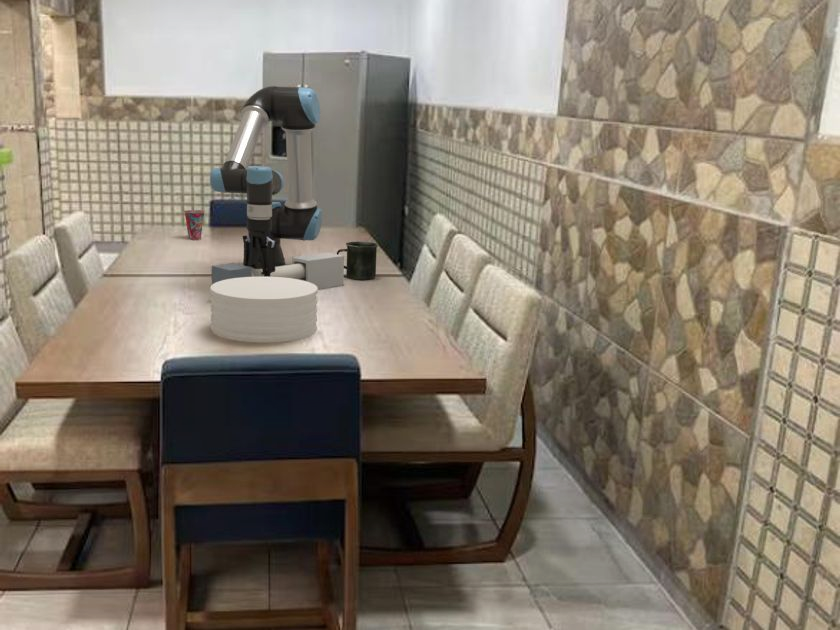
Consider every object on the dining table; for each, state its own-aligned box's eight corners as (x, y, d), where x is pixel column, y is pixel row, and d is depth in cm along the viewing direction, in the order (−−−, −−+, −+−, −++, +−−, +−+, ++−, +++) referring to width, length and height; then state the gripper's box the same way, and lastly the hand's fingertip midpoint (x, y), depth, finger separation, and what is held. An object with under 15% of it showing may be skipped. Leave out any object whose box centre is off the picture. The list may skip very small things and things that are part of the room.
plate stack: (221, 346, 208) (221, 301, 205) (202, 318, 233) (202, 278, 230) (330, 339, 219) (331, 296, 216) (300, 313, 244) (301, 274, 241)
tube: (304, 277, 279) (304, 258, 278) (317, 281, 275) (317, 261, 274) (224, 290, 256) (224, 268, 254) (237, 294, 251) (237, 272, 250)
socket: (233, 296, 260) (233, 262, 258) (251, 301, 254) (251, 267, 252) (211, 299, 254) (211, 265, 252) (230, 305, 249) (229, 270, 246)
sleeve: (327, 281, 289) (328, 252, 286) (343, 285, 284) (344, 255, 281) (291, 287, 277) (292, 257, 274) (307, 291, 272) (308, 260, 269)
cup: (202, 241, 356) (201, 212, 353) (182, 240, 356) (181, 211, 353) (207, 237, 365) (207, 210, 362) (188, 236, 365) (187, 209, 362)
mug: (376, 281, 293) (377, 247, 290) (334, 279, 292) (335, 245, 289) (377, 275, 303) (378, 242, 300) (336, 273, 303) (337, 240, 300)
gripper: (231, 215, 259) (231, 288, 265) (268, 222, 248) (268, 299, 253) (250, 213, 265) (250, 285, 270) (288, 220, 253) (287, 295, 259)
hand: (259, 292), depth 262 cm, fingers closed on tube, 5 cm apart
